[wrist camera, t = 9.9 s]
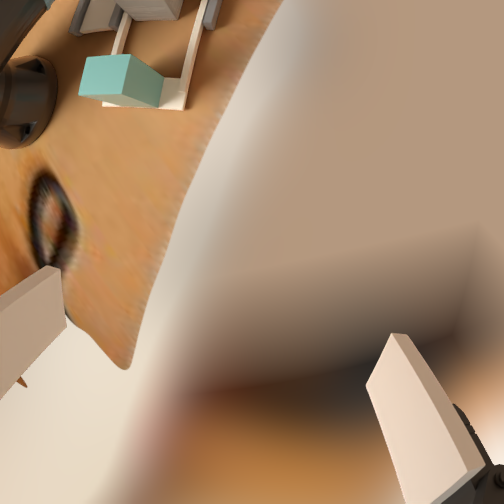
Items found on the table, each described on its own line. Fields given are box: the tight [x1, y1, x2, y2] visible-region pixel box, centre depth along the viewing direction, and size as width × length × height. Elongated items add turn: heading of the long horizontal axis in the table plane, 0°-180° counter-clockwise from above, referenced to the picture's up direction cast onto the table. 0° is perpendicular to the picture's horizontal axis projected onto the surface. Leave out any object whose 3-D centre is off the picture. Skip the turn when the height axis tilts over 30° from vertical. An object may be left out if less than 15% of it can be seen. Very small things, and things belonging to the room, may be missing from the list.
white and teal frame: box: [78, 0, 209, 111], centre depth 23 cm, size 11×22×11 cm, turn 170°
